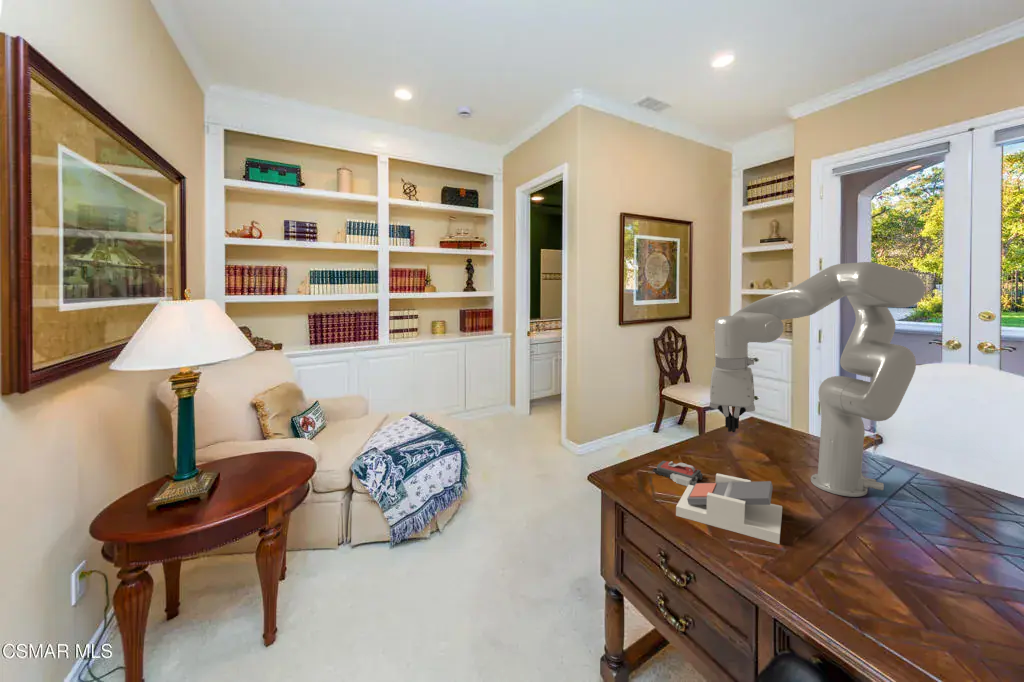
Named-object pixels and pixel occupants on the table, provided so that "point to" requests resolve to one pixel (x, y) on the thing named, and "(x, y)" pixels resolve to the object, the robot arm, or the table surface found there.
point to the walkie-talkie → (679, 472)
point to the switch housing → (734, 513)
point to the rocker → (733, 492)
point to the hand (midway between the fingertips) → (732, 430)
